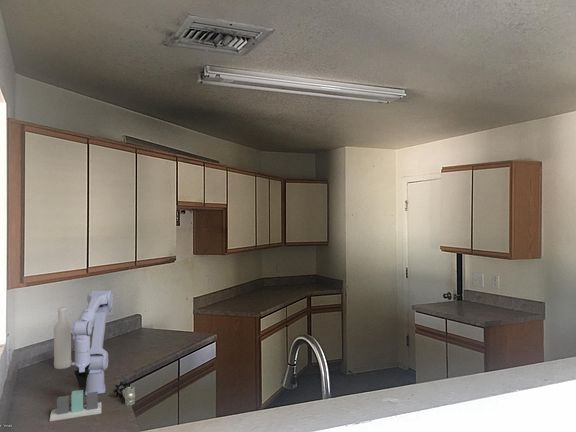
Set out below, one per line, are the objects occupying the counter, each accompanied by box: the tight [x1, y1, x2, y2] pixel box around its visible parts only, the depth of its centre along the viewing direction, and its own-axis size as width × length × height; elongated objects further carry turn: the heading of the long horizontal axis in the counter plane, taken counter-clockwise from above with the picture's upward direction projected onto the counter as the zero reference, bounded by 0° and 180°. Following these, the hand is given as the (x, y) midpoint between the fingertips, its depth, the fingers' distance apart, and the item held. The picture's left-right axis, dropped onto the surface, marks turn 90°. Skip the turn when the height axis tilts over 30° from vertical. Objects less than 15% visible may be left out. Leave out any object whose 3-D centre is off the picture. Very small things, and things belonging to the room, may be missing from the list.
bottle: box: [53, 306, 72, 370], centre depth 232 cm, size 8×8×30 cm
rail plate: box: [49, 392, 102, 422], centre depth 179 cm, size 9×18×6 cm, turn 112°
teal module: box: [70, 389, 84, 412], centre depth 179 cm, size 4×4×6 cm
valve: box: [112, 380, 136, 407], centre depth 190 cm, size 7×7×12 cm
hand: (82, 384), depth 184 cm, fingers open, 7 cm apart
